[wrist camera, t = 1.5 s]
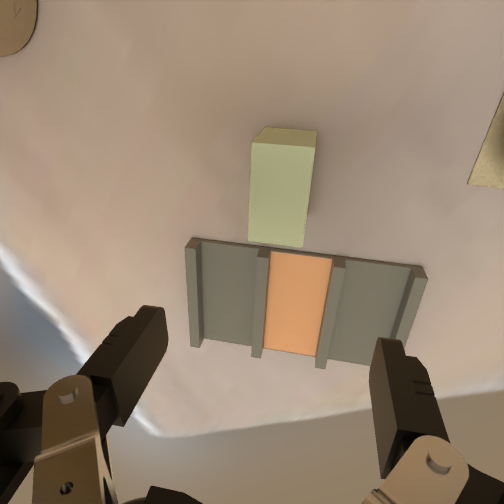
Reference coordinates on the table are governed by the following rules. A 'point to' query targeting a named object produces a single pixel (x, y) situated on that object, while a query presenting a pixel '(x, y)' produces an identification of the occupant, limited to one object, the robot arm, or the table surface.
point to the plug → (280, 185)
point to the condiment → (491, 155)
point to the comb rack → (298, 300)
